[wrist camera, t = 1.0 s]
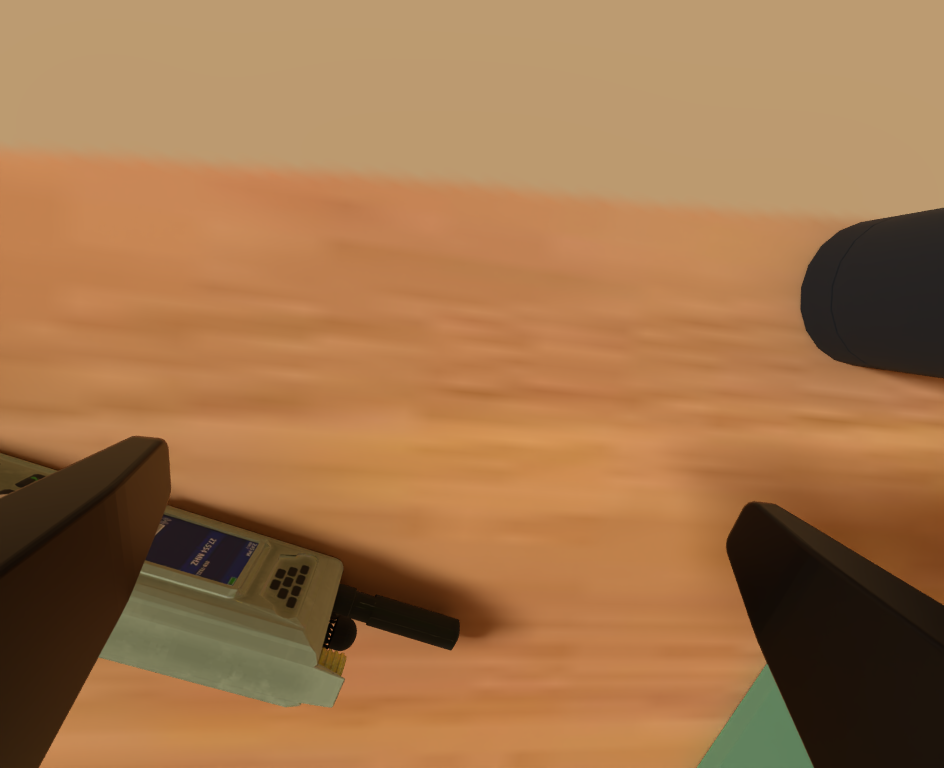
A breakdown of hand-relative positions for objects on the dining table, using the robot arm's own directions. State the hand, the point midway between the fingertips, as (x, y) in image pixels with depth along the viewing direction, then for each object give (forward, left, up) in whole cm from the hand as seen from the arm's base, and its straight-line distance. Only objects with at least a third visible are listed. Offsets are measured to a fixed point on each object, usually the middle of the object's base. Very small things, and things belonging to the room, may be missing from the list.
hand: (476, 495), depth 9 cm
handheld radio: (-12, +6, -16) cm, 20 cm away
